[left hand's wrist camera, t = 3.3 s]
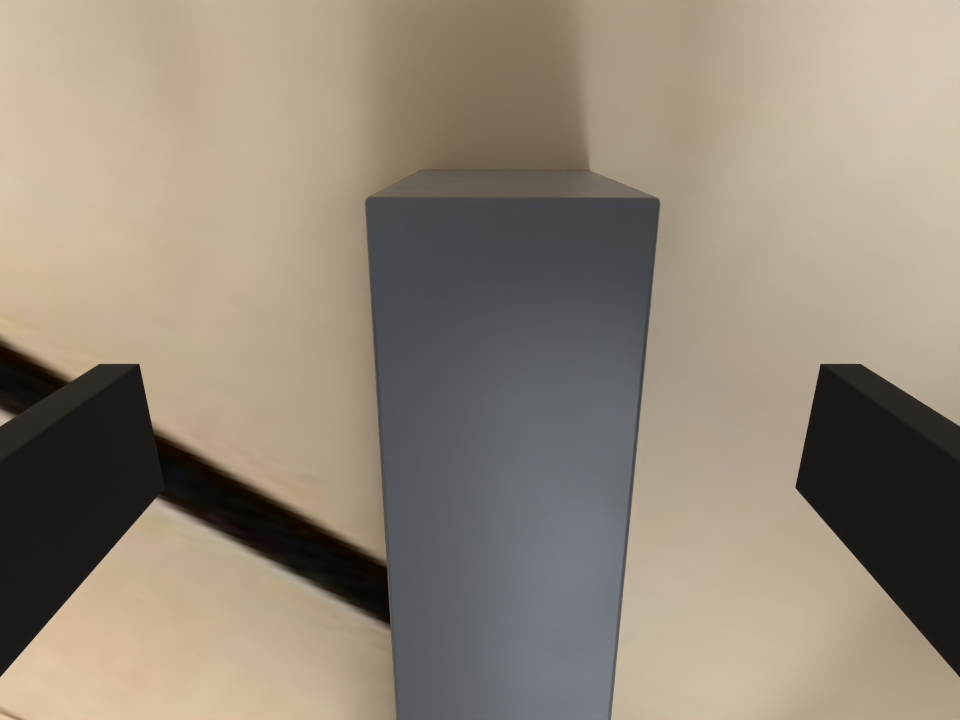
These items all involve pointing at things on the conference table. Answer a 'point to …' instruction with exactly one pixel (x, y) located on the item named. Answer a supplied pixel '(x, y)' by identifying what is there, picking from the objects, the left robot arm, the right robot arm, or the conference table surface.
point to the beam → (508, 433)
